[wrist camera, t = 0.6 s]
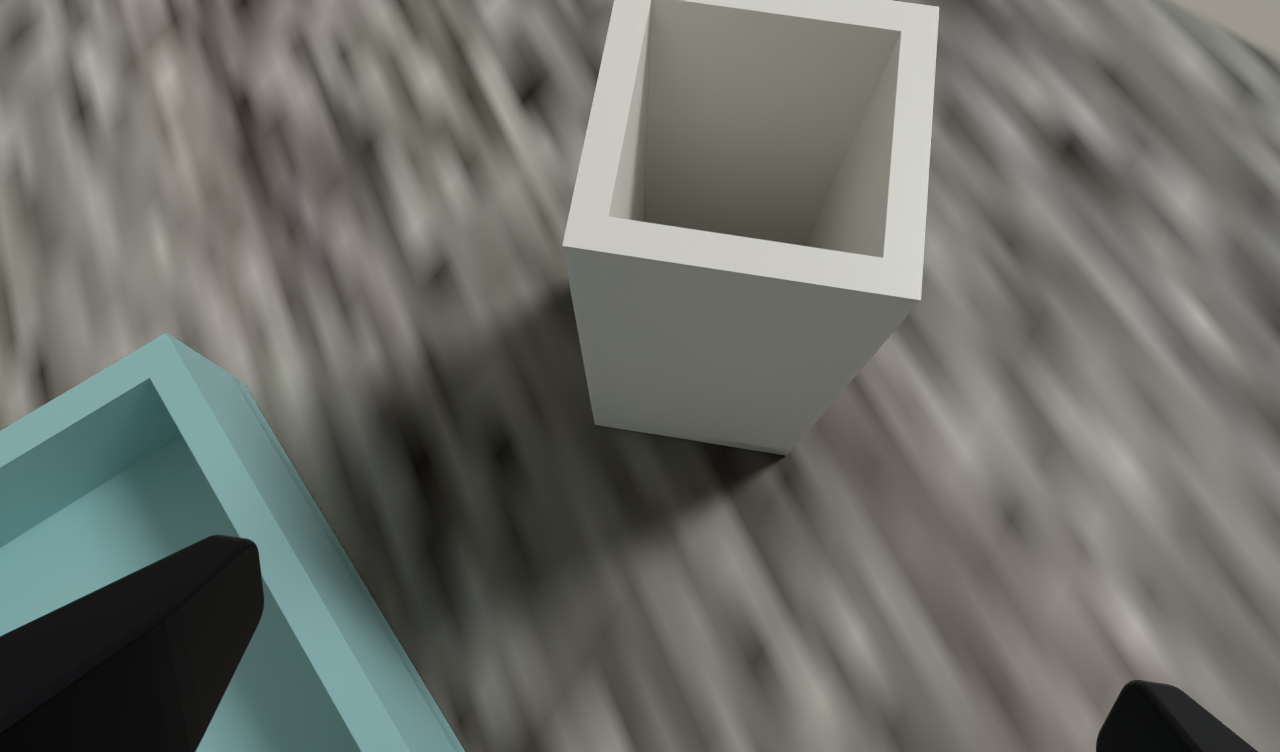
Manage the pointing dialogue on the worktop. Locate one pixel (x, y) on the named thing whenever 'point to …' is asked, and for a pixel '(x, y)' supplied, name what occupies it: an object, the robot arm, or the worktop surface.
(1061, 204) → the worktop surface
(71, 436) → the crate
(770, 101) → the white hollow square box
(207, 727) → the robot arm
